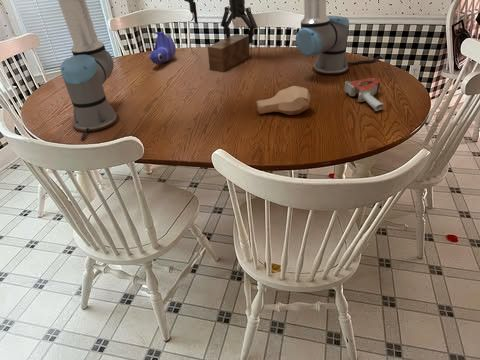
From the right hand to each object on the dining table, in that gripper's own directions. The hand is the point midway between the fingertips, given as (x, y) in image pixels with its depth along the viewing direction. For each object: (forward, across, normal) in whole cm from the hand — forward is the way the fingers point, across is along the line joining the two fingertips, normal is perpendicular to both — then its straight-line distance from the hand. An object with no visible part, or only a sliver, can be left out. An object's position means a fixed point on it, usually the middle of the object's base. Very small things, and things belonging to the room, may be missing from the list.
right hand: (239, 42), depth 182 cm
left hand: (-21, -23, +49) cm, 59 cm away
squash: (+9, -49, +48) cm, 70 cm away
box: (+8, +1, +9) cm, 12 cm away
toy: (+7, +33, +24) cm, 41 cm away
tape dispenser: (+10, -72, +24) cm, 77 cm away
